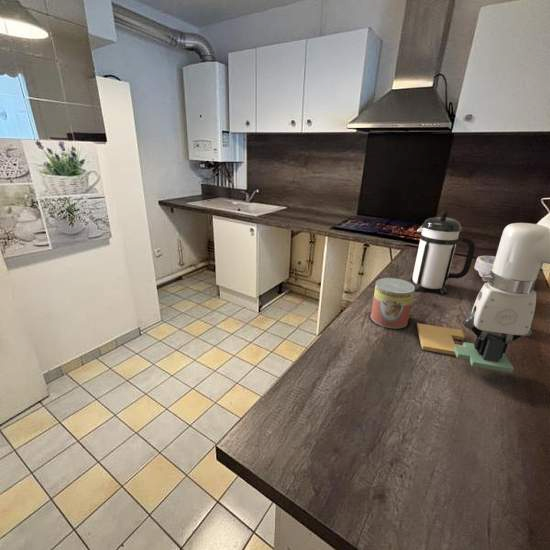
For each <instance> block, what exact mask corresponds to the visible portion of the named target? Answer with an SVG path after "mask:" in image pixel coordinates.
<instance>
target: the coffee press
mask: <svg viewBox="0 0 550 550" xmlns="http://www.w3.org/2000/svg"><path fill="white" fill-rule="evenodd" d="M448 216H449V213H448V212H447V211H446V210H444V211H442V212H441V213H440V216H432V217H428V218H427V219H425V220H424V222H422V223H421V226H419V227H418V229H417V230H416V232H417V233H420V236H419V244H418V249H417V254H416V258H415V263H414V268H413V271H412V272H413V273H412V276H411V278H410V281H411V282H413V283H414V284H415V285H414V287H415V291H416V292H419V291H420V290H421V288H424V289H430V290H439V293H440V294H441V295H444V294H447V289H446V285H447V282H448V279H460V278H463V277H465V276H466V275H467V274H468V273H469V271H470V268H471V266H472V262H473V259H474V255H475V249H476V246H475V243H474V241H473V240H472V239H470V238H468V237H466V236H461V237H460V236H459V235H460V232H461V231H462V229H463V227H462V225H461V223H460V221H458V220H456V219H455V218H451V217H448ZM458 242H459V243H460V242H461V243H465V244H467V246H468V250H467V254H466V258H465V261H464V265H463V267H462V270H461V271H459V272H458V273H452V272H450V271H451V268H452V267H451V266H452V263H453V259H454V255H455V251H456V248H457V247H456V246H457V244H458Z"/></svg>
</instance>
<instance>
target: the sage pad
mask: <svg viewBox="0 0 550 550" xmlns="http://www.w3.org/2000/svg"><path fill="white" fill-rule="evenodd" d="M485 340H486V341H487V343H486V346H485V349H484V353H483V355H479V354H478V352H477V350H476V349H475V348H474V344H475V343H473V342H472V343H471V342H467V341H466V342H465V341H464V342H463V344H462V345H463V347H460V346H455V347H454V351H455V354H456V355H455V357H456V358H457V359H460V360H466V361H469V363H470V365H471V367H474V368H480V369H487V370H491V371H499V372H505V373H511V374H513V373H514V371H515V368H514V366H513V364H512V363H511V362H510V359H508V357H507V356H506V354H505V353H503V355H502V358H500V356H501V354H502V351H503V348H504V345H505V342H504V341H503V339H502V338H501V334H500V333H496V332H488V334H487V336H486V339H485Z"/></svg>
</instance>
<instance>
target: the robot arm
mask: <svg viewBox="0 0 550 550" xmlns="http://www.w3.org/2000/svg"><path fill="white" fill-rule="evenodd" d="M495 257H496V258H495V261H494V265H493V268H492V271H490V273H489V274H487V275H483V276H482V277H481V281H483V282H484V284H483V285H482V287H481V289H480V291H479V292H478V294H477V296H476V299H475V301H474V304H473V306H472V309H471V313H470V314H469V315H468V316H467V317H466V318H465V319H464V320H463V321H462V325H463V326H464V327H465V328H467V329H468V330H470V331H471V332H473V333H474V335H475V336H476V337H475V341H474V343H473V344H474V348H475V349H476V350H477V352H478V354H479V355H483V353H484V349H485V346H486V343H487V341H486V340H485V339H486V336H487V334H488V332H496V333H499V334H500V336H501V338H502V339H503V341H504V342H505V345H504V348H503V351H502V354H501V356H500V358H502V355H503V353H504V354H505V353H506V351H507V348H508V346H509V345H511V344H512V342H514V341H516V340H518V339H520V338H524V337H528V336H531V335H533V331H532V328H531V327H532V324H533V320H534V316H535V311H536V304H537V292H536V291H535V290H534V287H535V284H536V281H537V278H538V276H539V273H540V270H541V268H542V266H543V264H548V265H550V212H548V213H547V214H546V215H544V217H542V218H541V219H540V220H538V222H537V223H530V222H513V223H510V224H507V225H506V226H505V227H504V229H503V230H502V234H501V237H500V240H499V244H498V247H497V250H496V254H495Z"/></svg>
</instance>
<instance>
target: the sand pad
mask: <svg viewBox="0 0 550 550" xmlns="http://www.w3.org/2000/svg"><path fill="white" fill-rule="evenodd" d="M416 329H417V334H418V338H419V342H420V346H421V350H423V351H428V352H434V353H439V354H445V355H451V356H456V354H455V351H454V347H455V346H460V347H463V344H459V343H458V344H457V343H455V341H454V340H457V341H458V340H460V341H465V338H466V337H465V334H464V332H463V330H462V329H457V328H451V327H445V326H439V325H433V324H432V325H431V324H425V323H418V322H417V323H416Z"/></svg>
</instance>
